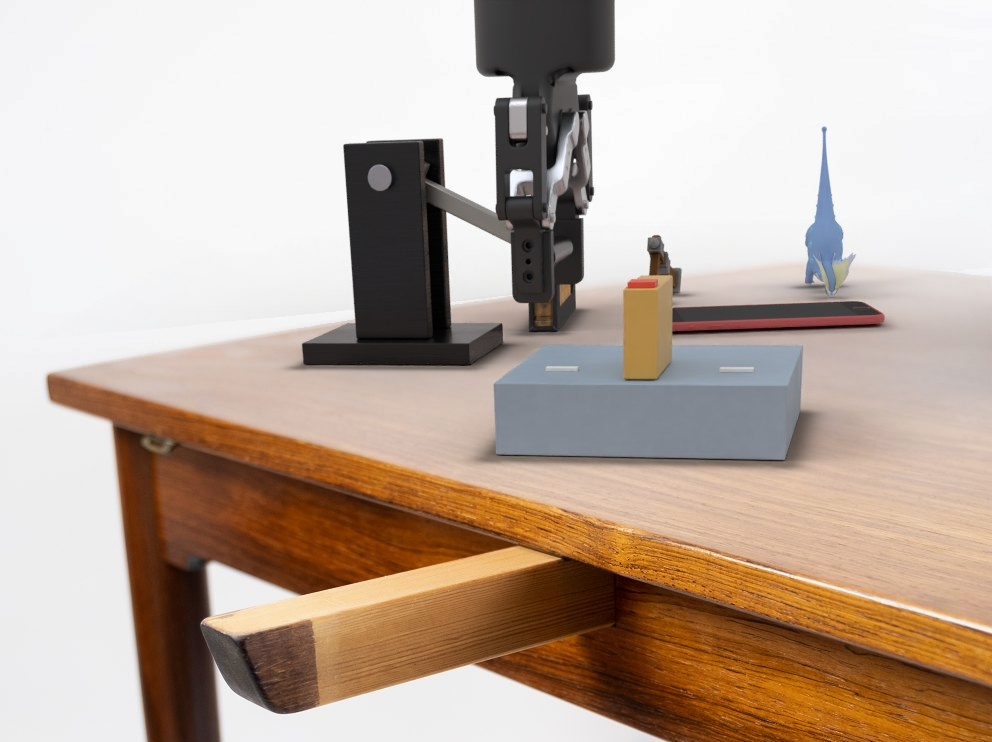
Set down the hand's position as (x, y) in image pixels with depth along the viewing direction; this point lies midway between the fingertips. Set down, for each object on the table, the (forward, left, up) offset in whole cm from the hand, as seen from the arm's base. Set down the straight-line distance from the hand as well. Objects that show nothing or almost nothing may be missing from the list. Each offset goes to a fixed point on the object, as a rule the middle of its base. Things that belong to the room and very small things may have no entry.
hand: (550, 292), depth 86 cm
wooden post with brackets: (-3, -24, -4) cm, 24 cm away
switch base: (-9, +21, -3) cm, 23 cm away
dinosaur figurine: (-14, -29, -4) cm, 32 cm away
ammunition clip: (+3, -14, -4) cm, 15 cm away
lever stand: (+9, 0, -3) cm, 9 cm away
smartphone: (-11, -12, -4) cm, 17 cm away
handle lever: (+5, 0, +3) cm, 6 cm away
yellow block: (-9, +23, 0) cm, 25 cm away
